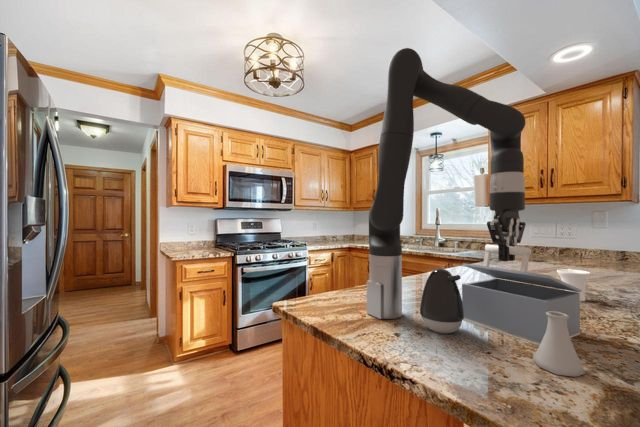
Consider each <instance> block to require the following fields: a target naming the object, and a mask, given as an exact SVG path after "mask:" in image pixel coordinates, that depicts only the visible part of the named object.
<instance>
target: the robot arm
mask: <svg viewBox="0 0 640 427" xmlns="http://www.w3.org/2000/svg"><path fill="white" fill-rule="evenodd" d="M386 90H387V92H386V94H387V95H386V102H385V107H384V113H383V118H382V125H381V131H380V138H379V142H378V143H379V145H378V151H377V152H378V156H377V165H378V166H377V169H378V170H377V171H378V178H377V179H378V180H377V187H376V190H375V191H376V192H375V196H374V199H373V203H372V205H371V207H370V209H369V211H368V249H369V250H368V251H369V253H368V256H369V258H368V259H369V266H368V268H369V272H368V274H369V277H368V280H366V314H368V315H370V316H373V317H374V318H377V319H379V320H384V319H387V320H388V319H389V320H391V319H392V320H394V319H398V318H401V317H402V316H403V281H402V280H403V263H402V262H403V259H402V258H403V254H402V252H403V251H402V250H403V246H402V241H401V224H402V222H403V219H404V205H405V204H404V202H405V199H404V197H405V185H406V184H405V183H406V180H407V174H408V170H409V164H410V159H411V154H412V149H413V141H414V131H415V128H414V127H415V126H414V125H415V121H414V120H415V118H414V117H415V115H414V97H415V98H418V99H421V100H423V101H426V102H429V103H431V104H433V105H435V106H437V107H439V108H441V109H442V110H444V111H447V112H448V113H450V114H452V115H453V116H455V117H457V118H459V120H462V121H464V122H466V123H467V124H470V125H473V126H476V125H477V126H478V125H479V126H480V127H482V128H485V129H487V130H488V131H489V139H490V140H489V142H490V151H491V158H490V179H489V210H490V211H492V212H493V211H494V215H493V220H492V221H489V220H488V221H487V222H486V226H487V229H488V232H489V235H490V238H491V241H492V243H493V244H495V245H498V253H497V254H498V261H499V262H514V261H515V260H516V255H512V254H509V246H514V247H517V246H518V245H517V244H520V243H521V241H522V238H523V235H524V231H525V228H526V225H527V224H526V222H525V221H521V219H520V215H519V211H525V209H526V200H525V199H526V181H525V173H524V170H525V168H524V166H525V162H524V153H523V152H522V149H521V148H522V142H521V140H522V131H523V130H524V129H525V126H526V118H525V116H524V114H523V113H522V112H521V111H520V110H518V109H517V108H515V107H514V106H510V105H508V104H504V103H502V102H498V101H494V100H490V99H488V98H486V97H484V96H483V95H481V94H479V93H477V92H475V91H473V90H471V89H469V88H466V87H463V86H461V85H456V84H450V83H445V82H443V81H439V80H437V79H436V78H435V77H432V75H429V74H428V72H426V71H425V70H424V66H423V62H422V58H421V57H420V54H419V53H418V52H417V51H416V50H415V49H413V48H410V47H406V48H402V49H399V50H398V51H397V52H395V53H394V55H393V56H392V58H391V59H390V61H389V63H388V67H387V89H386Z"/></svg>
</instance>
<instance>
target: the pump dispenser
mask: <svg viewBox="0 0 640 427" xmlns="http://www.w3.org/2000/svg"><path fill="white" fill-rule="evenodd" d="M460 279H461V276H460V275H459V274H456V275H452V273H451V272H450V271H449V270H448V269H445V268H436V269H433V270H432V271H431V272H430V274H429V275H428V277H427V279H426V281H425V284H424V287H423V290H422V293H421V298H420V304H419V315H420V316H421V320H422V322H423V324H424V326H425V327H426V328H428V329H429V330H430V331H433V332H435V333H439V334H446V335H447V334H452V333H455V332H456V331H458V329H460V327H461V325H462V323H463V321H464V320H463V319H464V310H463V304H462V294H461V292H460V288H459V287H458V283H457V281H458V280H460Z"/></svg>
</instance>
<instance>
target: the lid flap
mask: <svg viewBox="0 0 640 427" xmlns="http://www.w3.org/2000/svg"><path fill="white" fill-rule="evenodd" d="M484 251H485V252H484V257H483V263H482V265H480V264H473V263H472V264H471V263H467V262H466V263H465V262H463V263H462V266H464V267H467V268H468V269H471V270H475V271H477V272H479V273H483V274H484V275H488V276H489V277H493V278H494V279H495V278H496V279H502V280H508V281H514V282H519V283H525V284H531V285H537V286H542V287H548V288H554V289H559V290H569V291H575V292H581V290H580V289H578V288H576V287H574V286H571V285H569V284H567V283H565V282H563V281H562V280H561V279H559V278H555V276H552V275H549V274H542V273H536V272H529V271H528V268H529V263H530V262H529V261H530V256H531V254H532V250H531V247H527V246H526V247H525V246H523V247H522V246H515V247H514V246H509V254H512V255H515V256H521V263H520V268H519V270H516V269H515V270H514V269H507V268H502V267H501V268H500V267H494V266H490V262H491V256H492V253H494V254H498V245H497V244H488V243H487V244H485V246H484Z"/></svg>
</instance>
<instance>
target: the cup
mask: <svg viewBox="0 0 640 427" xmlns="http://www.w3.org/2000/svg"><path fill="white" fill-rule="evenodd" d="M556 273H557V274H558V276H559V277H560V280H561V281H563V282H565V283H567V284H569V285H571V286H574V287H576V288H578V289H580V290H581V292H577V293H580V302H585V301H587V300H586V299H587V298H586V287H587V285H588V284H587V283H588V279H589V277H590V275H591V272H590V271H586V270H580V269H572V268H560V269H556ZM565 291H569V290H565ZM571 292H575V291H571Z"/></svg>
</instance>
